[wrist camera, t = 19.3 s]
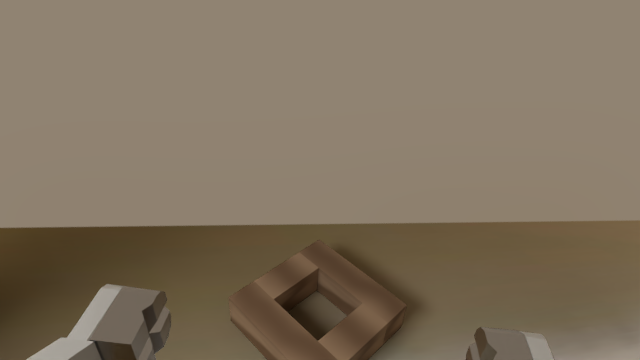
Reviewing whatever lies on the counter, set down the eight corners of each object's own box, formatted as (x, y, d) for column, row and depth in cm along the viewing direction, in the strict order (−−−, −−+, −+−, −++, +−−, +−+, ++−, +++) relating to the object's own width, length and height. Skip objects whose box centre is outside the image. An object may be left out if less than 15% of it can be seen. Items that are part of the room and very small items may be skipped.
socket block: (315, 411, 40) (317, 389, 38) (230, 320, 48) (228, 297, 46) (400, 327, 48) (407, 304, 46) (317, 261, 56) (319, 239, 54)
